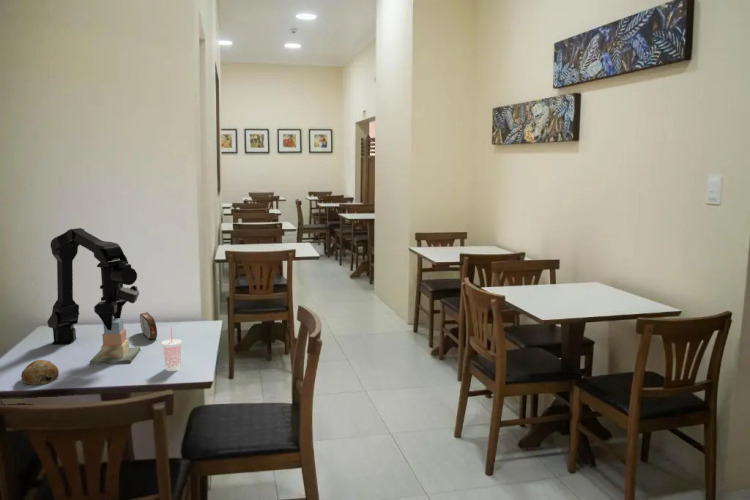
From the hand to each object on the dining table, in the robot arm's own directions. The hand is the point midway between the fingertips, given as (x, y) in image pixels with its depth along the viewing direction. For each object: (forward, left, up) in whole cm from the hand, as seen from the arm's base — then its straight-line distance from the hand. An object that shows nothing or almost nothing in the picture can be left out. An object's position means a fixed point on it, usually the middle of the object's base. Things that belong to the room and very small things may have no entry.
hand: (113, 326), depth 210 cm
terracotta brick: (0, 0, -6) cm, 6 cm away
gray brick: (0, 0, -2) cm, 2 cm away
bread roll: (-17, -19, -11) cm, 28 cm away
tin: (+6, +23, -11) cm, 26 cm away
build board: (0, 0, -11) cm, 11 cm away
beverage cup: (+22, -13, -11) cm, 28 cm away
